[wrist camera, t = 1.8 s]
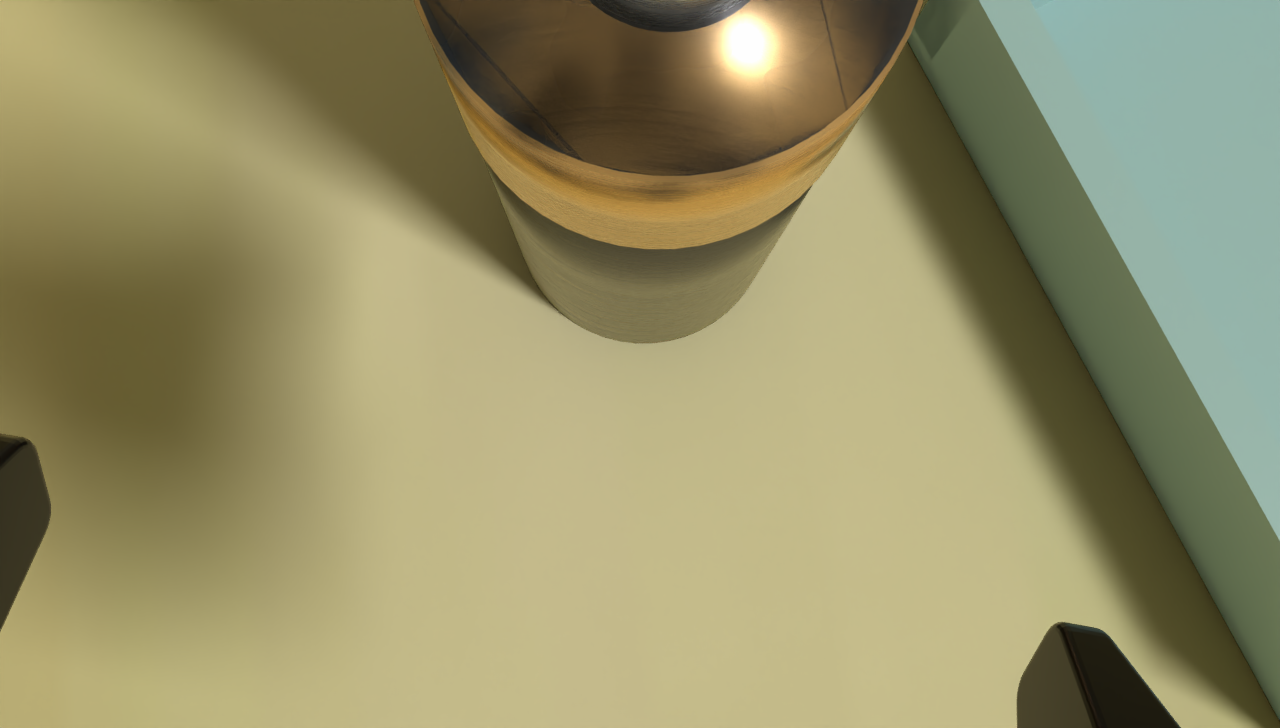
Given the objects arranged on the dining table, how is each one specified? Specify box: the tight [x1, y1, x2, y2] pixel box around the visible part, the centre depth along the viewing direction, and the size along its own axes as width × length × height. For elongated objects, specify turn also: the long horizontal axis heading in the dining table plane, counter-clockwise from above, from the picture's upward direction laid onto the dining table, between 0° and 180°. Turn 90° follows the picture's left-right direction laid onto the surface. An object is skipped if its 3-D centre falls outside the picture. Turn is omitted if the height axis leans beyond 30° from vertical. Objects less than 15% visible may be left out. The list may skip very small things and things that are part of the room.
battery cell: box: [414, 0, 923, 343], centre depth 16 cm, size 5×5×13 cm
